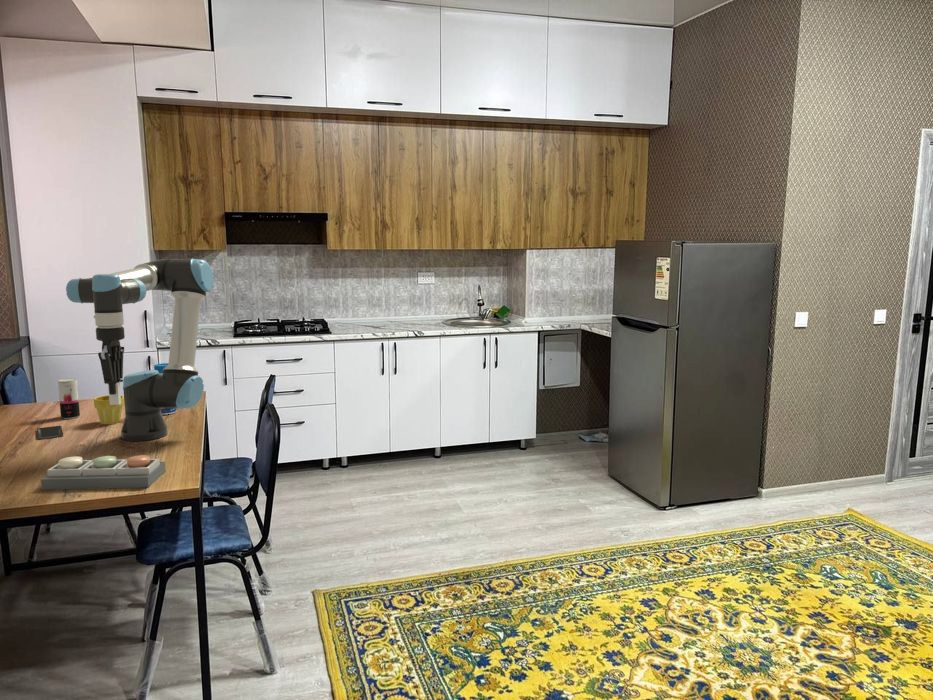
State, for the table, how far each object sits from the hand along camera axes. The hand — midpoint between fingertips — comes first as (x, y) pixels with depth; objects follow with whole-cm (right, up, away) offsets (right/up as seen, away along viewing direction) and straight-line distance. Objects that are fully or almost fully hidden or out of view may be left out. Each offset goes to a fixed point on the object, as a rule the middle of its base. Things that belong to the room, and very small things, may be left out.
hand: (115, 404), depth 210 cm
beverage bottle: (-16, -9, +73) cm, 76 cm away
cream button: (-9, -17, -8) cm, 21 cm away
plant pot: (-31, -12, +58) cm, 67 cm away
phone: (-45, -14, +42) cm, 63 cm away
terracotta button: (+10, -17, -7) cm, 21 cm away
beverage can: (-51, -10, +66) cm, 84 cm away
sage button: (+1, -17, -7) cm, 19 cm away
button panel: (+1, -22, -7) cm, 23 cm away
